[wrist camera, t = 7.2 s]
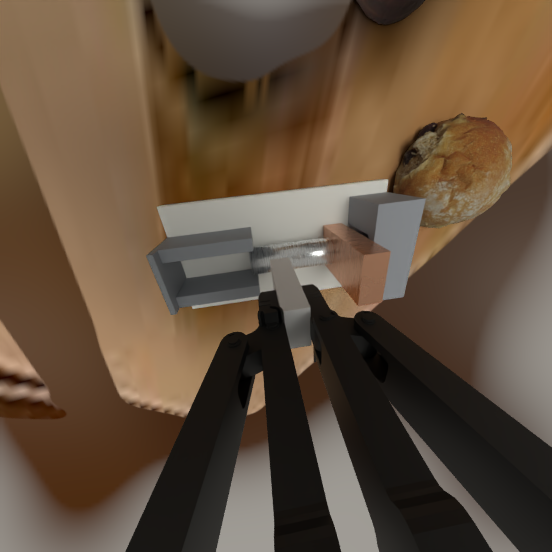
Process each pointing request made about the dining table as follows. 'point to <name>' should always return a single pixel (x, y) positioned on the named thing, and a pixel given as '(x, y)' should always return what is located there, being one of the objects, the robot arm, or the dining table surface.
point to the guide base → (275, 239)
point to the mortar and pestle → (388, 9)
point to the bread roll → (456, 169)
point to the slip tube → (335, 260)
